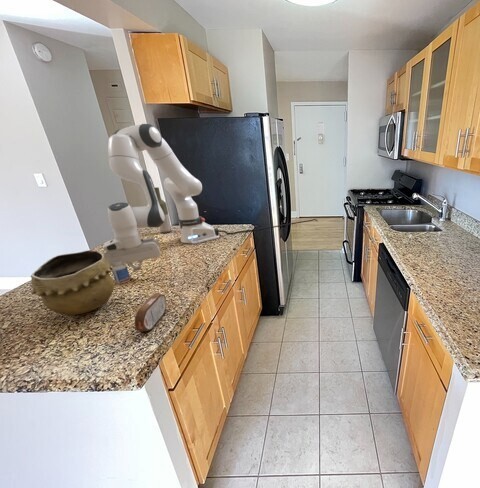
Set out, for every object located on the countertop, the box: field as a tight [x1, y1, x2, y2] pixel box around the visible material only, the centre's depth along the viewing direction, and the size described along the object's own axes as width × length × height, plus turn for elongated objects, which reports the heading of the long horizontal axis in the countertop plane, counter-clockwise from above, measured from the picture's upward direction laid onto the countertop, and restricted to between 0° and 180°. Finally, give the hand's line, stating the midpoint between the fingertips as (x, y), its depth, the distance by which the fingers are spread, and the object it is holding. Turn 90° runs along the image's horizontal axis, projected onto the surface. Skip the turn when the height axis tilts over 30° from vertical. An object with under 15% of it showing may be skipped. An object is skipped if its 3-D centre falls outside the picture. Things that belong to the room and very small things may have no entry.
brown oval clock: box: [134, 293, 167, 332], centre depth 87 cm, size 15×3×8 cm, turn 5°
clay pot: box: [30, 249, 115, 316], centre depth 91 cm, size 21×21×20 cm
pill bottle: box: [111, 261, 131, 285], centre depth 113 cm, size 6×5×10 cm
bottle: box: [155, 187, 172, 234], centre depth 171 cm, size 7×7×30 cm
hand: (137, 269), depth 117 cm, fingers closed
